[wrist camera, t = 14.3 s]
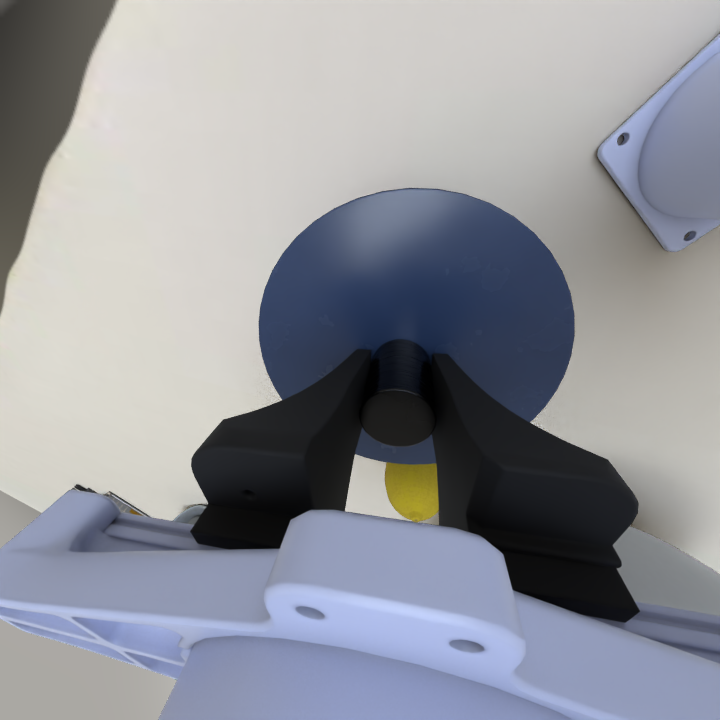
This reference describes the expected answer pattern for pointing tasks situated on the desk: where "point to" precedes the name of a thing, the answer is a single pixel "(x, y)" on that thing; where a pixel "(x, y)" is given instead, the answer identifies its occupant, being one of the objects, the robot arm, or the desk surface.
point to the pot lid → (418, 311)
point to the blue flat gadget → (117, 502)
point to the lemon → (413, 490)
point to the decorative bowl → (666, 574)
